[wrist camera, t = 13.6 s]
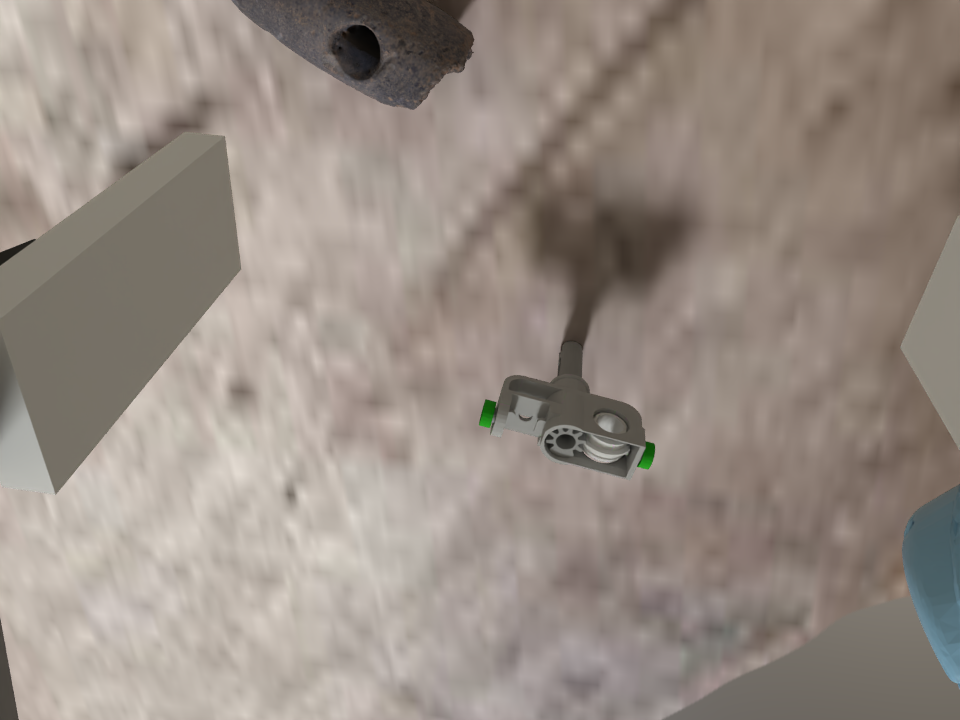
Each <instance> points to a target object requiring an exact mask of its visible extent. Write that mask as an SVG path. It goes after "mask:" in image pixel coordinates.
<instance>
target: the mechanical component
mask: <svg viewBox="0 0 960 720" xmlns="http://www.w3.org/2000/svg"><path fill="white" fill-rule="evenodd" d="M582 354H583V352H582V347H581V345H580V344H578V343H577V342H574V341H568V342H565V343H564V345H563V346H562V352H561V353H560V352H559V363H558V377H556V378H554V379H553V380H552V381H551V383H548V382H545V381H541V380H537V379H533V378H529V377H526V376H520V375H514V376H510V377H508V378H506V379H505V381H504V384H503V387H502V390H501V393H500V397H499V400H498V403H497V406H496V402H494V401H490V400H485V403H484V406H483V410H482V414H481V418H480V422H479V425H480V426H484V427H488V428H490V426H491V423H492V426H491V432H490V435H493V436H497V437H501V436H502V433H503V430H504V428H505V429H509V430H512V431H516V432H520V433H524V434H528V435H531V436H535V437H538V446H540V448H541V451H542V452H543V454H544V455H545V456H546V457H547V458H548V459H550V460H551V461H553V462H555V463H559V464H565V465H567V464H570V465H574V466H578V467H582V468H585V469H589V470H593V471H597V472H601V473H604V474H608V475H612V476H616V477H620V478H624V479H627V480H631V478H632V476H633V473H634V471H635V469H636V467H640V468H644V469H649V468H650V466H651V464H652V462H653V458H654V454H655V445H654V443H650V442H646V441H645V429H644V428H643V427H642V419H641V416H640V414H639V412H638V411H637V410H636V409H635V408H633V407H632V406H630V405H629V404H626V403H624V402H620V401H617V400H613V399H609V398H605V397H601V396H598V395H594V394H590V390H589V386H588V384H587V383H586V381H585V380H584V379H582ZM495 407H496V408H495ZM520 415H523V416H527V417H530V418H522V417H521V416H520ZM583 451H584V452H585V453H586V454H588V455H589V456H590V457H592V458H594V459H596V460H599V461H602V462H611V463H599V462H596V461H594V460H592V459H590V458H589V457H587V456H586V455H585V454H584V452H583Z"/></svg>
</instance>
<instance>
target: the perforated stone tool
mask: <svg viewBox="0 0 960 720" xmlns="http://www.w3.org/2000/svg"><path fill="white" fill-rule="evenodd" d="M232 1H233V3H234V4H235V5H236V6H237V7H238V8H239V10H240V11H241V12H242V13H244V14H245V15H246V16H247V17H248V18H249V19H251V20H252V21H253V22H254V23H256V24H257V25H258V26H260V27H261V28H262V29H264V30H265V31H268V32H270V33H271V34H272V35H274V36H275V37H276V39H278V40H279V41H280V42H281V43H283V44H284V45H285V46H287V47H288V48H290V49H291V50H292V51H294V52H295V53H297V54H298V55H300V56H301V57H303V58H304V59H306V60H307V61H309V62H310V63H312V64H313V65H315V66H316V67H318V68H320V69H321V70H323V71H325V72H327V73H328V74H330V75H332V76H333V77H335V78H336V79H338V80H340V81H342V82H344V83H346V84H347V85H349V86H351V87H352V88H355V89H356V90H358V91H360V92H362V93H363V94H365V95H367V96H369V97H371V98H373V99H376V100H377V101H379V102H381V103H383V104H387V105H390V106H393V107H395V106H396V107H398V106H400V107H405V108H409V109H412V110H414V109H416V108H417V106H419V105H420V104H421V103H422V101H423V100H425V99H426V98H427V97H428V94H429V92H430V90H431V89H432V88H434V86H435V85H436V84H438V83H439V82H440V81H441V79H442V78H443V76H444V75H445V74H446V73H447V74H448V73H452V72H455V73H459V72H462V71H463V70H464V68H465V67H464V66H465V62H466V61H467V60H468V59H470V57H471V56H472V53H474V52H472V50H471V47H472V45H473V42H474V38H473V35H472V32H471V31H469V30H468V29H467V28H466V27H464V26H463V25H462V24H460V23H459V22H458V21H456V20H455V19H454V18H452V17H451V16H449V15H448V14H447V13H445V12H444V11H442V10H441V9H439V8H438V7H436V6H434V5H433V4H431V3H430V2H428V1H426V0H232Z"/></svg>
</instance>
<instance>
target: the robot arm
mask: <svg viewBox="0 0 960 720" xmlns="http://www.w3.org/2000/svg"><path fill="white" fill-rule="evenodd" d="M240 270H241V263H240V255H239V247H238V239H237V230H236V222H235V214H234V206H233V198H232V190H231V182H230V174H229V165H228V157H227V149H226V141H225V136H218V135H209V134H199V133H190V132H184V133H183V134H181V135H180V136H179V137H177V138H176V139H175V140H173V141H172V142H170V143H169V144H168V145H166V146H165V147H163V148H162V149H161V150H159V151H158V152H157V153H155V154H154V155H152V156H151V157H150V158H148V159H147V160H146V161H144V162H143V163H141V164H140V165H139V166H137V167H136V168H135V169H133V170H132V171H130V172H129V173H128V174H126V175H125V176H123V177H122V178H121V179H119V180H118V181H117V182H115V183H114V184H112V185H111V186H110V187H108V188H107V189H106V190H104V191H103V192H101V193H100V194H99V195H97V196H96V197H94V198H93V199H92V200H90V201H89V202H88V203H86V204H85V205H83V206H82V207H81V208H79V209H78V210H77V211H75V212H74V213H72V214H71V215H70V216H68V217H67V218H66V219H64V220H63V221H61V222H60V223H59V224H57V225H56V226H54V227H53V228H52V229H50V230H49V231H48V232H46V233H45V234H43V235H42V236H41V237H39V238H38V239H37V240H36V239H33V240H31V241H28V242H26V243H23V244H21V245H18V246H15V247H13V248H10V249H8V250H5V251H3V252H0V483H1V486H2V487H5V488H12V489H19V490H26V491H33V492H40V493H47V494H54V495H56V494H57V493H58V491H59V490H60V489H61V488H62V486H63V485H64V484H65V483H66V482H67V480H68V479H69V478H70V477H71V475H72V474H73V473H74V472H75V471H76V469H77V468H78V467H79V466H80V465H81V463H82V462H83V461H84V460H85V458H86V457H87V456H88V455H89V454H90V452H91V451H92V450H93V449H94V447H95V446H96V445H97V444H98V443H99V441H100V440H101V439H102V438H103V437H104V435H105V434H106V433H107V432H108V430H109V429H110V428H111V427H112V426H113V424H114V423H115V422H116V421H117V419H118V418H119V417H120V416H121V415H122V413H123V412H124V411H125V410H126V409H127V407H128V406H129V405H130V404H131V402H132V401H133V400H134V399H135V398H136V396H137V395H138V394H139V393H140V391H141V390H142V389H143V388H144V387H145V385H146V384H147V383H148V382H149V380H150V379H151V378H152V377H153V376H154V374H155V373H156V372H157V371H158V370H159V368H160V367H161V366H162V365H163V363H164V362H165V361H166V360H167V359H168V357H169V356H170V355H171V354H172V352H173V351H174V350H175V349H176V348H177V346H178V345H179V344H180V343H181V342H182V340H183V339H184V338H185V337H186V335H187V334H188V333H189V332H190V331H191V329H192V328H193V327H194V326H195V324H196V323H197V322H198V321H199V320H200V318H201V317H202V316H203V315H204V314H205V312H206V311H207V310H208V309H209V307H210V306H211V305H212V304H213V303H214V301H215V300H216V299H217V298H218V296H219V295H220V294H221V293H222V292H223V290H224V289H225V288H226V287H227V286H228V284H229V283H230V282H231V281H232V279H233V278H234V277H235V276H236V275H237V273H238V272H239V271H240ZM900 348H901V350H902V351H903V353H904V355H905V357H906V358H907V360H908V362H909V364H910V365H911V367H912V369H913V370H914V372H915V374H916V376H917V377H918V379H919V381H920V383H921V384H922V386H923V388H924V390H925V391H926V393H927V395H928V396H929V398H930V400H931V402H932V403H933V405H934V407H935V409H936V410H937V412H938V414H939V415H940V417H941V419H942V421H943V422H944V424H945V426H946V428H947V429H948V431H949V433H950V434H951V436H952V438H953V440H954V441H955V443H956V445H957V447H958V448H959V450H960V215H958V217H957V219H956V221H955V224H954V226H953V228H952V231H951V233H950V235H949V237H948V240H947V242H946V244H945V246H944V249H943V251H942V253H941V256H940V258H939V260H938V262H937V265H936V267H935V269H934V271H933V274H932V276H931V278H930V281H929V283H928V285H927V287H926V290H925V292H924V294H923V296H922V299H921V301H920V303H919V306H918V308H917V310H916V312H915V315H914V317H913V319H912V321H911V324H910V326H909V328H908V331H907V333H906V335H905V337H904V340H903V342H902V344H901V346H900ZM902 555H903V565H904V570H905V575H906V580H907V583H908V587H909V591H910V594H911V597H912V600H913V603H914V606H915V609H916V611H917V614H918V617H919V619H920V621H921V624H922V626H923V628H924V631H925V633H926V635H927V638H928V639H929V642H930V644H931V646H932V648H933V650H934V652H935V654H936V656H937V658H938V660H939V662H940V664H941V665H942V667H943V669H944V670H945V672H946V674H947V675H948V677H949V678H950V680H951V681H953V682H956V683H958V687H959V689H960V484H959V485H957V486H956V487H954V488H952V489H951V490H949V491H947V492H945V493H944V494H942V495H940V496H939V497H937V498H935V499H933V500H932V501H930V502H928V503H927V504H925V505H923V506H922V507H920V508H919V509H918V510H917V511H916V512H915V513H914V514H913V515H912V516H911V518H910V519H909V521H908V523H907V526H906V529H905V532H904V541H903V547H902ZM0 720H19V719H18V714H17V708H16V702H15V697H14V691H13V686H12V680H11V675H10V669H9V664H8V658H7V653H6V647H5V642H4V636H3V631H2V625H1V620H0Z"/></svg>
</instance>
